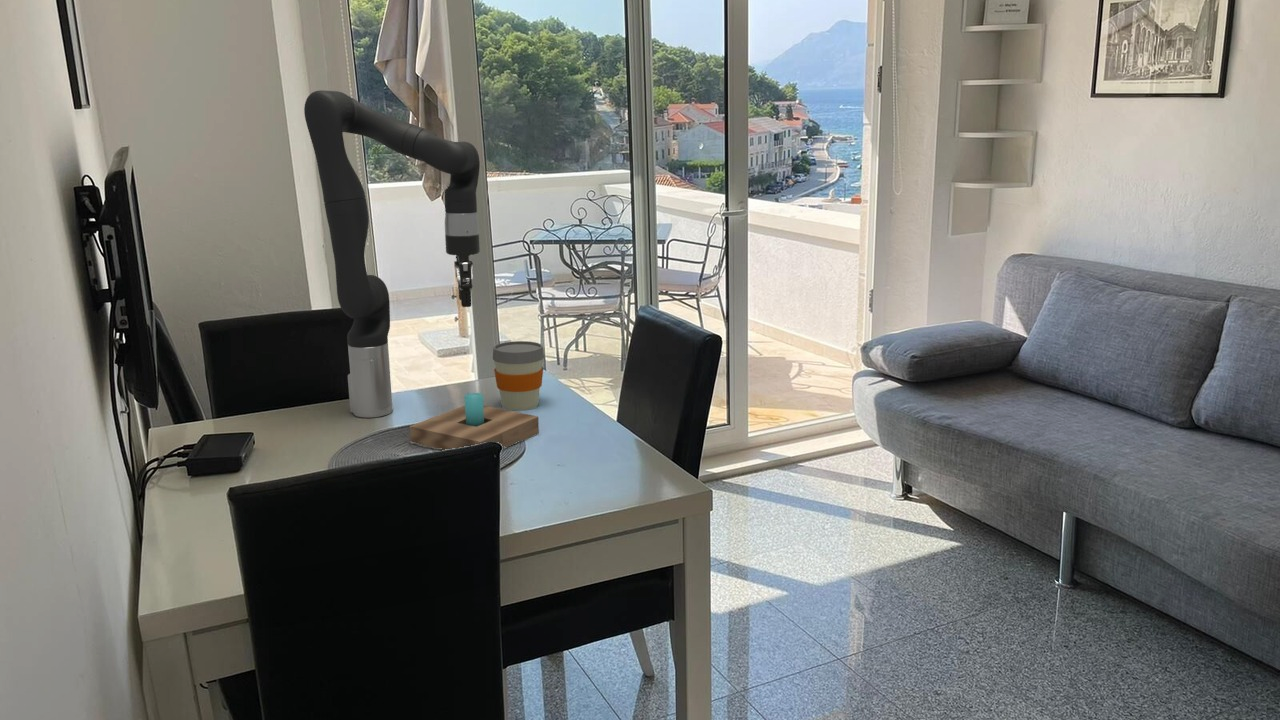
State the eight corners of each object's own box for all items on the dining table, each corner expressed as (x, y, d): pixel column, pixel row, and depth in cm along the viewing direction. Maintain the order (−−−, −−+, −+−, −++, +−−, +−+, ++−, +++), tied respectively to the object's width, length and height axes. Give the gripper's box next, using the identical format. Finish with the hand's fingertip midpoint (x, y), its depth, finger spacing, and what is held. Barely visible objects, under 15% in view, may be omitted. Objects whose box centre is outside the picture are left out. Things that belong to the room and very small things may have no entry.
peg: (462, 439, 205) (460, 396, 202) (474, 434, 208) (472, 391, 206) (476, 442, 203) (474, 399, 200) (488, 437, 206) (486, 394, 204)
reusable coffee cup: (525, 395, 238) (524, 338, 235) (555, 405, 230) (554, 347, 226) (484, 404, 230) (482, 346, 227) (513, 416, 221) (511, 355, 218)
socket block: (410, 443, 202) (409, 426, 201) (470, 419, 219) (470, 403, 218) (481, 460, 192) (480, 441, 191) (538, 433, 209) (538, 416, 208)
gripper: (481, 235, 202) (484, 308, 206) (476, 228, 215) (479, 297, 219) (446, 236, 200) (450, 310, 204) (443, 229, 214) (447, 298, 218)
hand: (465, 303), depth 212 cm, fingers open, 8 cm apart
